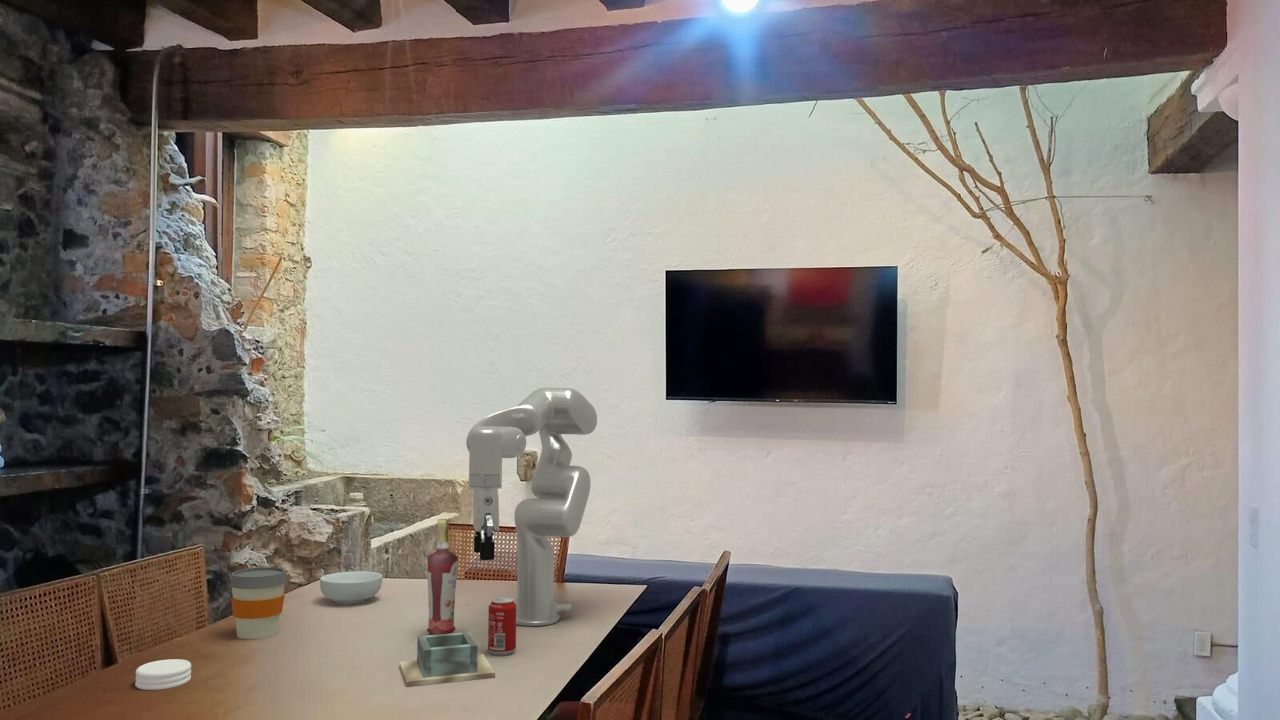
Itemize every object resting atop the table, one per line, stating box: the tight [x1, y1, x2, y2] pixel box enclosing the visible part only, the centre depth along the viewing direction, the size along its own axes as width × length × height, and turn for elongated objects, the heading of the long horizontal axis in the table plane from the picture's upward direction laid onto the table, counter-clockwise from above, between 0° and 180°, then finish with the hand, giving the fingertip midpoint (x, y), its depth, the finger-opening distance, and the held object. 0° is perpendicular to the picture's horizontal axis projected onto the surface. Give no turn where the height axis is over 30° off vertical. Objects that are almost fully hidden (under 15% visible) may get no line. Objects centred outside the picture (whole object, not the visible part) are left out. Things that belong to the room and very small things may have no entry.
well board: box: [399, 631, 496, 688], centre depth 187 cm, size 18×14×6 cm
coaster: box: [134, 658, 192, 691], centre depth 179 cm, size 10×10×4 cm
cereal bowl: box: [319, 570, 383, 605], centre depth 248 cm, size 17×17×7 cm
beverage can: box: [487, 596, 517, 656], centre depth 201 cm, size 6×6×12 cm
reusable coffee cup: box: [230, 566, 287, 640], centre depth 214 cm, size 13×13×15 cm
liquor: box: [426, 518, 458, 635], centre depth 215 cm, size 7×7×28 cm
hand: (483, 556), depth 203 cm, fingers open, 9 cm apart
